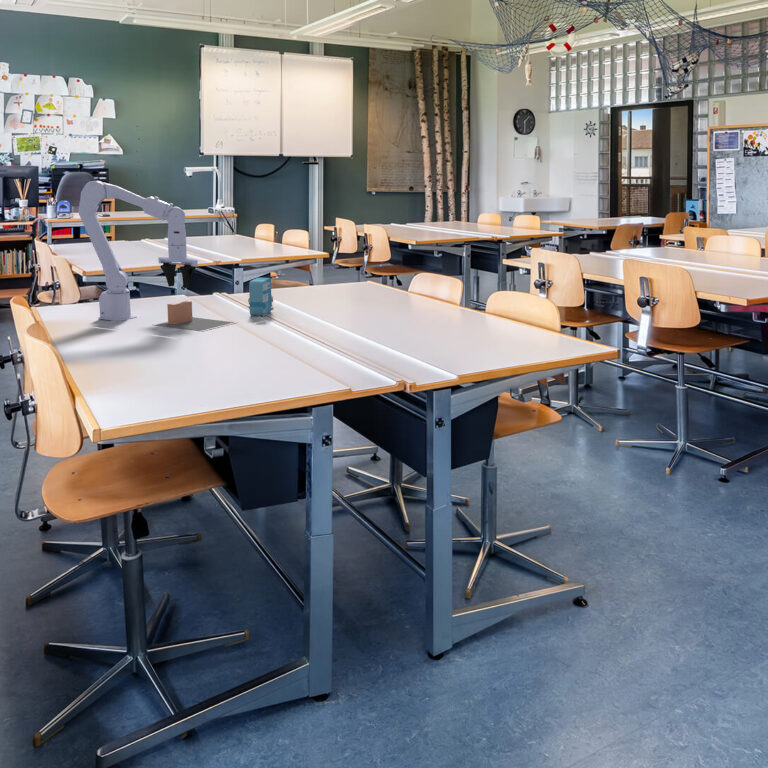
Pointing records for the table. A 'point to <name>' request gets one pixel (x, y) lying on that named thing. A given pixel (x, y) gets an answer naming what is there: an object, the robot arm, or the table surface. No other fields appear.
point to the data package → (260, 296)
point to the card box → (179, 312)
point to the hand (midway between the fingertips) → (178, 286)
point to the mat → (197, 324)
